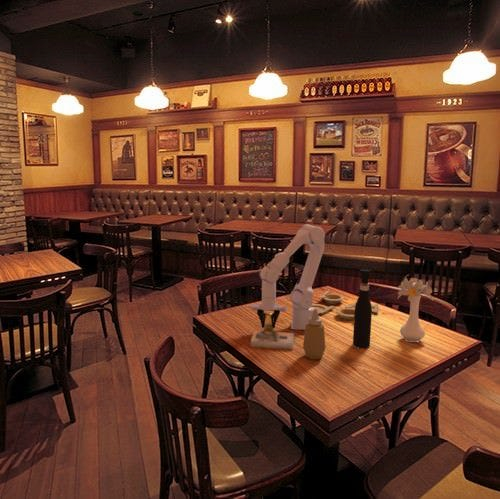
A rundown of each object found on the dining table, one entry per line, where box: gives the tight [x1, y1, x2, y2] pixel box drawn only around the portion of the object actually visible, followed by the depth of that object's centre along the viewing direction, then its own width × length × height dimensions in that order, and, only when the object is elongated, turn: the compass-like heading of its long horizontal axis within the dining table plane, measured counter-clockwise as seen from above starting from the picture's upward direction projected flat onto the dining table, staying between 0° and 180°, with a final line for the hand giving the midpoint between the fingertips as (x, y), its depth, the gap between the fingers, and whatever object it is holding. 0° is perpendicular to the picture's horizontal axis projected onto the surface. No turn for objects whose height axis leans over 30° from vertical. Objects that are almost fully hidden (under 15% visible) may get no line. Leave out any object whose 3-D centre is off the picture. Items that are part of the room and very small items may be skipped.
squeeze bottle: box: [302, 309, 327, 360], centre depth 156 cm, size 8×8×18 cm
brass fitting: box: [263, 311, 274, 332], centre depth 180 cm, size 4×4×8 cm
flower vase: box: [397, 277, 434, 342], centre depth 171 cm, size 13×18×25 cm
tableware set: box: [311, 290, 380, 321], centre depth 209 cm, size 35×29×4 cm
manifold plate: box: [250, 330, 295, 350], centre depth 170 cm, size 16×10×2 cm, turn 81°
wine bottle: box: [352, 268, 373, 349], centre depth 165 cm, size 6×6×30 cm
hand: (268, 327), depth 181 cm, fingers closed on brass fitting, 4 cm apart
